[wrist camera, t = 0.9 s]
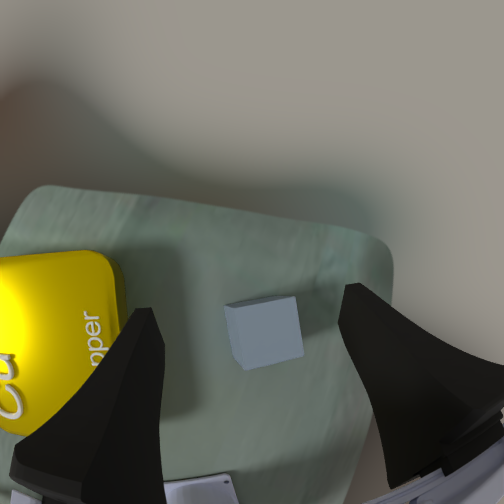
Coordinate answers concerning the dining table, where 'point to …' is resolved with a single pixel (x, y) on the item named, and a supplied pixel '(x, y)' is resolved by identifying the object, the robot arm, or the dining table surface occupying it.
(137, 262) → the dining table surface
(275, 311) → the slate-blue cube
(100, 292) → the element tile
